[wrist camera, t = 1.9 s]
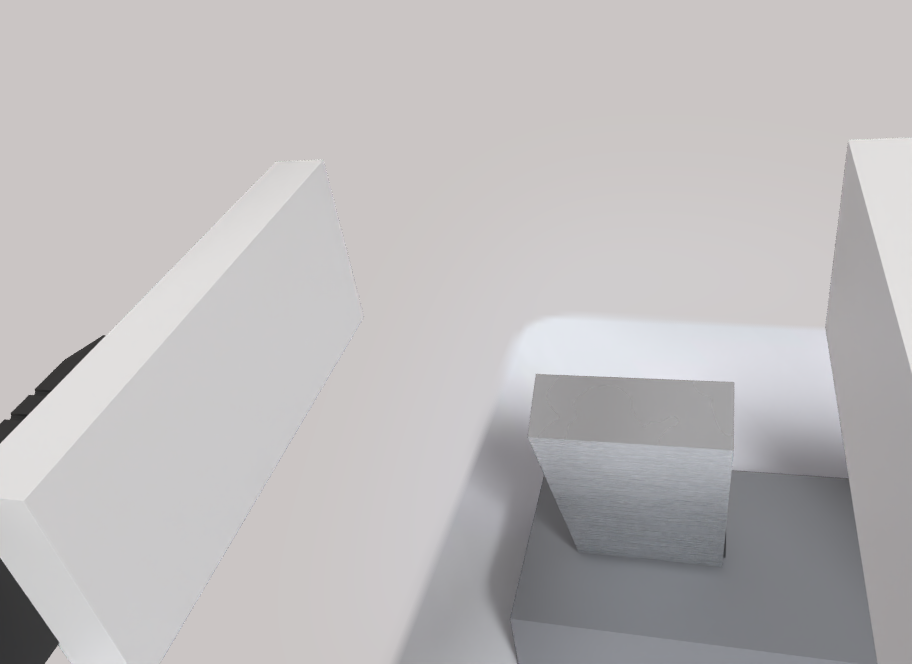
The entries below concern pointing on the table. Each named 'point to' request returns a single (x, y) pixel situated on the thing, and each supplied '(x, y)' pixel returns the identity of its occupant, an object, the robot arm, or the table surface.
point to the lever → (638, 463)
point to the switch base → (706, 588)
